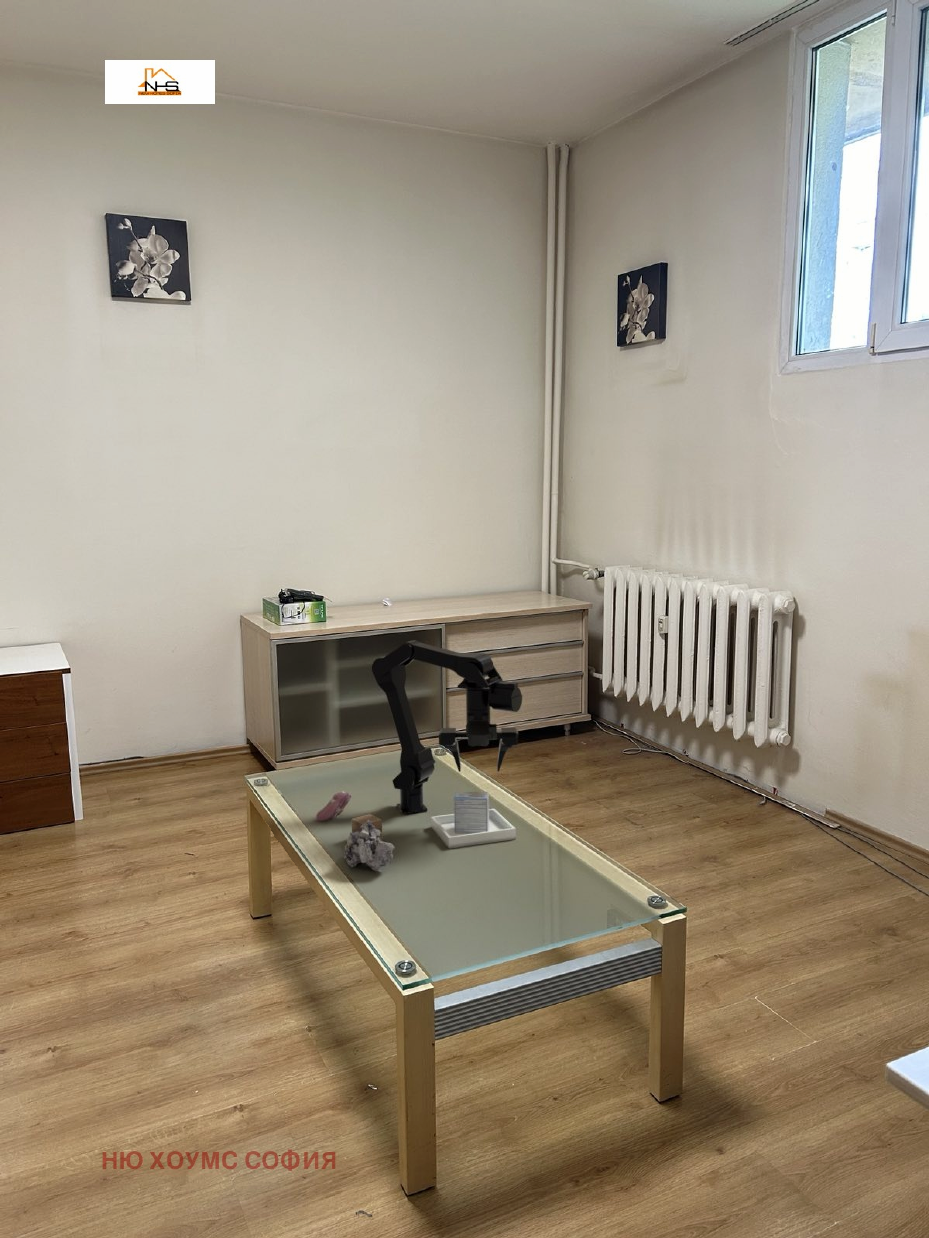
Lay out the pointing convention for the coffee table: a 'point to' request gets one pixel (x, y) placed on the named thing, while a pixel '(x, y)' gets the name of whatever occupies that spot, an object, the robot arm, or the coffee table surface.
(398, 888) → the coffee table surface
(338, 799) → the pink crystal rock
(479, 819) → the medicine box
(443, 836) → the tray
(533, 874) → the coffee table surface
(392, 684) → the robot arm
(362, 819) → the walnut block
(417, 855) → the coffee table surface
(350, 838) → the mineral specimen
